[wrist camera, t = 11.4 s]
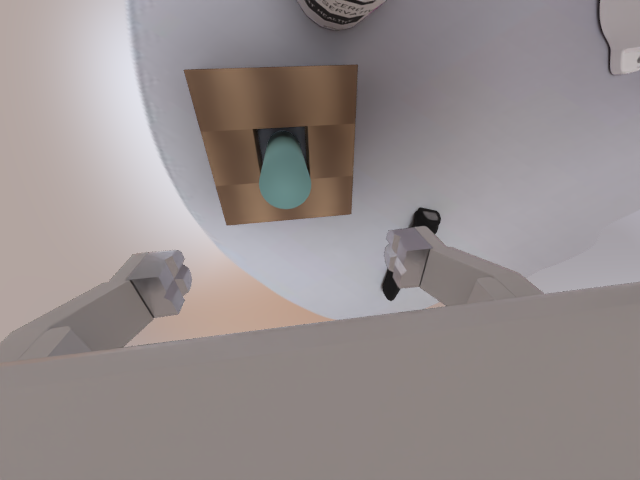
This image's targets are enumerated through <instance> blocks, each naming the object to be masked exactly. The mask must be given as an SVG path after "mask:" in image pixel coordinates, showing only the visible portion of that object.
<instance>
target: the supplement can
mask: <svg viewBox="0 0 640 480" xmlns="http://www.w3.org/2000/svg"><path fill="white" fill-rule="evenodd" d="M297 1H298V3H299V5H300V6H301V8H302V9H303V11H304V12H305V14H306V15H307V16H308V17H309V18H310V19H312V20H313V21H314V22H316V23H317V24H318V25H319V26H321V27H324V28H328V29H332V30H336V31H337V30H341V29H346V28H351V27H353V26H354V25H356V24H357V23H359V22H360V21H361V20H363V19H364V18H365V17H367V16H368V15H369V14H370V13H372V12H373V11H374V10H375V9H377V8H378V7H379V6H380V5H382V4H383V3H384V2H385V1H387V0H297Z"/></svg>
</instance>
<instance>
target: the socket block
mask: <svg viewBox="0 0 640 480" xmlns="http://www.w3.org/2000/svg"><path fill="white" fill-rule="evenodd" d="M357 72H358V65H328V66H294V67H260V68H226V69H192V70H184V73H185V77H186V80H187V84H188V87H189V91H190V95H191V98H192V102H193V105H194V109H195V113H196V116H197V120H198V124H199V127H200V131H201V134H202V138H203V142H204V145H205V149H206V153H207V156H208V160H209V163H210V167H211V171H212V174H213V178H214V181H215V185H216V189H217V192H218V196H219V200H220V203H221V207H222V210H223V214H224V218H225V221H226V225H238V224H249V223H260V222H271V221H282V220H293V219H304V218H315V217H326V216H337V215H348V214H351V208H352V186H353V163H354V140H355V118H356V95H357ZM302 126H305V143H306V160H307V169H308V172H309V176H310V179H311V191H310V194H309V196H308V198H307V199H306V200H305V201H304V202H303V203H302V204H301V205H299V206H298V207H295V208H292V209H280V208H276V207H274V206H272V205H271V204H269V203H268V202H267V201H266V200H265V199H264V198H263V196H262V194H261V192H260V188H259V179H260V174H261V170H262V165H263V162H262V156H261V150H260V144H259V137H258V131H257V129H264V128H283V127H302Z"/></svg>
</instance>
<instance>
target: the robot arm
mask: <svg viewBox="0 0 640 480" xmlns="http://www.w3.org/2000/svg"><path fill="white" fill-rule="evenodd" d="M600 22H601V27H602V31H603V33H604V35H605V37H606V39H607V41H608V43H609V45H610V48H611V57H610V69H611V73H612V74H613V75H621V74H628V73H632V72H635V71H639V70H640V0H600ZM386 240H387V241H388V243H389V244H388V245H387V246H386V247H385V251H384V258H385V263H386V266H387V268H388V270H390V271H392V272H393V279H394V280H395V282H396V284H397V286H398V287H399V289H400V288H411V287H420V288H421V289H423V290H424V291H425V292H427V293H428V294H430V295H431V296H433V297H434V298H436V299H437V300H438V301H440V302H441V303H443V304H444V305H446V306H445V307H438V308H430V309H422V310H414V311H406V312H398V313H390V314H382V315H374V316H367V317H359V318H351V319H343V320H335V321H327V322H319V323H311V324H303V325H295V326H288V327H280V328H272V329H264V330H257V331H249V332H242V333H233V334H225V335H217V336H209V337H202V338H193V339H186V340H178V341H170V342H162V343H154V344H146V345H138V346H131V347H124V346H125V345H126V344H127V343H128V342H129V341H130V340H131V339H133V338H134V337H135V336H136V335H137V334H138V333H139V332H140V331H141V330H142V329H144V328H145V327H146V326H147V325H148V324H149V323H150V322H151V321H152V320H153V318H157V317H164V316H171V315H178V314H179V312H180V309H181V307H182V305H183V303H184V301H185V300H184V298H183V296H184V295H185V294H186V293H188V292H189V290H190V287H191V282H192V278H191V273H190V270H189V268H188V267H186V266H185V265H183V262H184V256H183V255H182V252H180V251H179V250H173V251H158V252H145V253H137V254H133V255H132V256H131V257H130V258H129V259H128V260H127V261H126V263H125V264H124V265H123V266H122V267H121V268H120V269H119V271H118V272H117V273H116V274H115V275H114V276H113V277H112V278H111V279H110V281H109V282H107V283H102V284H100V285H98V286H96V287H94V288H93V289H91V290H89V291H87V292H85V293H83V294H81V295H80V296H78V297H76V298H74V299H72V300H70V301H69V302H67V303H65V304H63V305H61V306H59V307H58V308H55V309H54V310H52V311H50V312H48V313H46V314H44V315H43V316H41V317H39V318H37V319H35V320H33V321H31V322H30V323H28V324H26V325H24V326H22V327H20V328H18V329H17V330H15V331H13V332H12V333H10V334H9V335H8V336H7V337H6V338H5V339H4V340H3V341H2V342H1V343H0V480H640V282H635V283H627V284H619V285H611V286H603V287H595V288H588V289H579V290H572V291H563V292H556V293H548V294H544V293H543V292H542V291H541V290H539V289H538V288H537V287H536V286H534V285H533V284H532V283H531V282H529V281H528V280H527V279H526V278H525V277H523V276H522V275H521V274H520V273H518V272H515V271H513V270H510V269H508V268H505V267H502V266H500V265H497V264H495V263H492V262H489V261H487V260H484V259H482V258H479V257H476V256H474V255H471V254H469V253H466V252H463V251H461V250H458V249H456V248H453V247H447V246H446V245H445V244H444V243H443V242H442V241H441V240H440V239H439V238H438V237H437V236H436V235H435V234H434V233H433V232H432V231H431V230H430V229H429V228H428V227H426V226H420V227H412V228H405V229H396V230H388V233H387V237H386Z"/></svg>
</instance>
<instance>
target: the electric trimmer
mask: <svg viewBox="0 0 640 480" xmlns="http://www.w3.org/2000/svg"><path fill="white" fill-rule="evenodd" d="M440 220H441V218H440V214H439V213H438V212H437V211H434V210H430V209H425V208H419V210H418V211H416V212H415V224H414V226H413V227H420V226H426V227H428V228H429V229H430V230H431V231H432V232H433V233H434V234H436V232H437V230H438V225H439V224H440ZM400 289H401V288H400ZM400 289H399V287H398V286H397V284H396V282H395V280H394V279H393V272H392V271H390V270H389V271H388V274H387V277H386V280H385V283H384V286H383V293H384V294H385V296H386V298H387V299H388V300H390V301H392V300H394V298H395V297H396V295H397V294H398V292H399V290H400Z"/></svg>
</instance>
